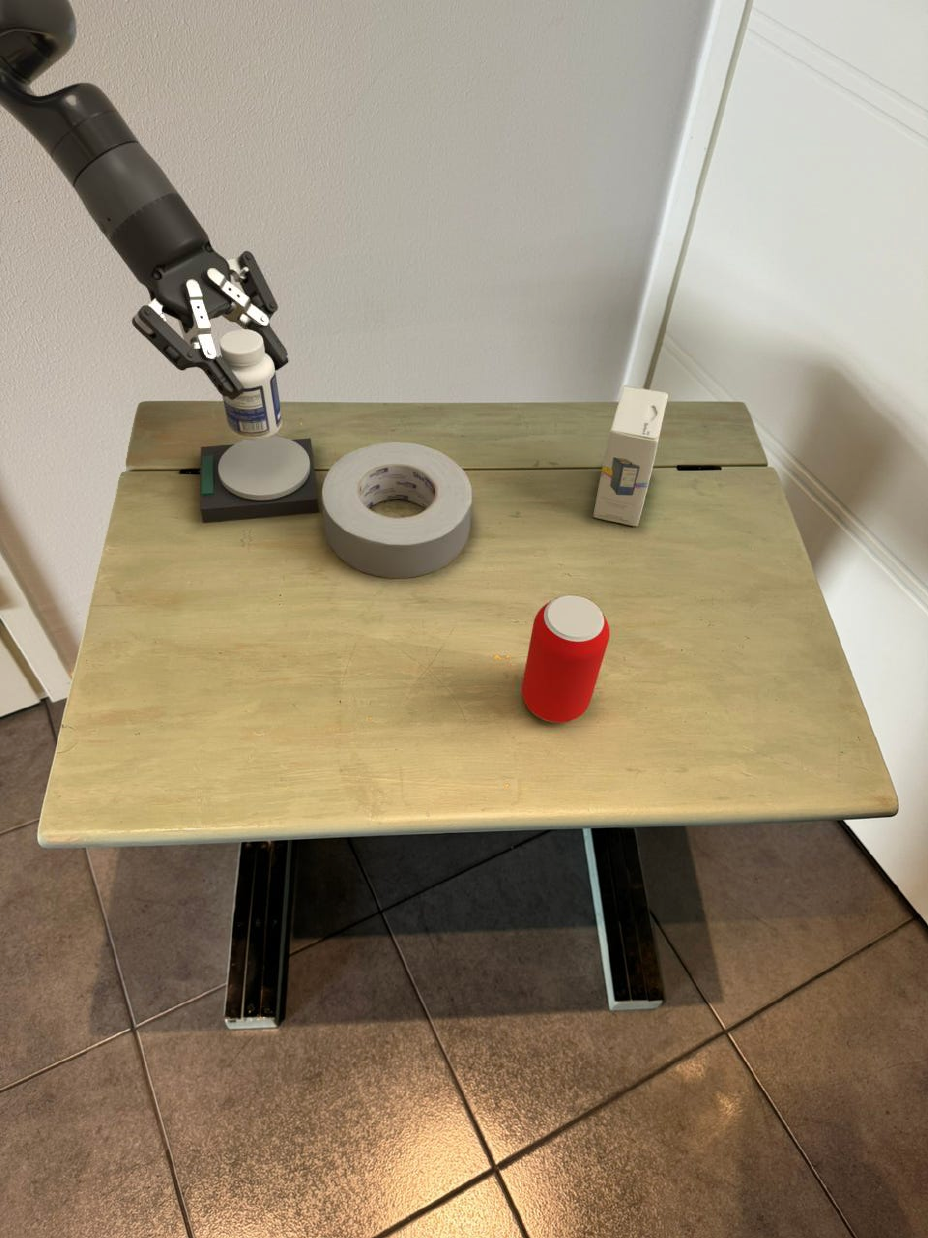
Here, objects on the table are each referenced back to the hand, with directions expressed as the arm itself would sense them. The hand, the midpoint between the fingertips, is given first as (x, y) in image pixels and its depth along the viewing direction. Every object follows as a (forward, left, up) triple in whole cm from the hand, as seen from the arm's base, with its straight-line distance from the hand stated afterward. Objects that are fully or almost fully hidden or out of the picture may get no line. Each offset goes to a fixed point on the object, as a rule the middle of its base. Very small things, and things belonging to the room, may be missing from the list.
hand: (260, 380), depth 79 cm
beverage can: (+23, -31, -14) cm, 41 cm away
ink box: (+37, -6, -14) cm, 40 cm away
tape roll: (+12, -7, -14) cm, 20 cm away
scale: (-2, +1, -14) cm, 14 cm away
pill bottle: (-1, +1, -6) cm, 7 cm away
